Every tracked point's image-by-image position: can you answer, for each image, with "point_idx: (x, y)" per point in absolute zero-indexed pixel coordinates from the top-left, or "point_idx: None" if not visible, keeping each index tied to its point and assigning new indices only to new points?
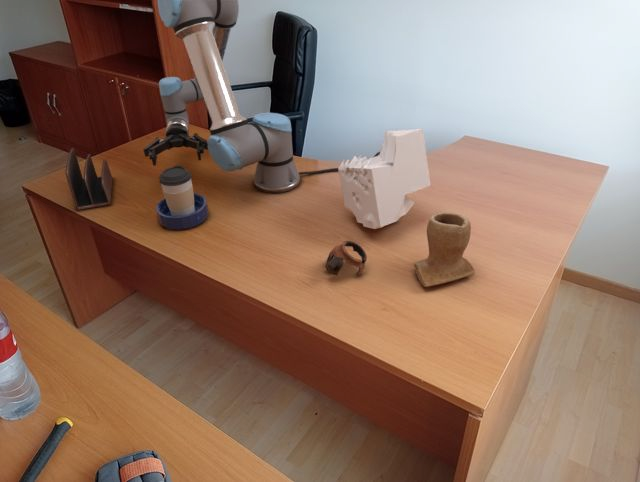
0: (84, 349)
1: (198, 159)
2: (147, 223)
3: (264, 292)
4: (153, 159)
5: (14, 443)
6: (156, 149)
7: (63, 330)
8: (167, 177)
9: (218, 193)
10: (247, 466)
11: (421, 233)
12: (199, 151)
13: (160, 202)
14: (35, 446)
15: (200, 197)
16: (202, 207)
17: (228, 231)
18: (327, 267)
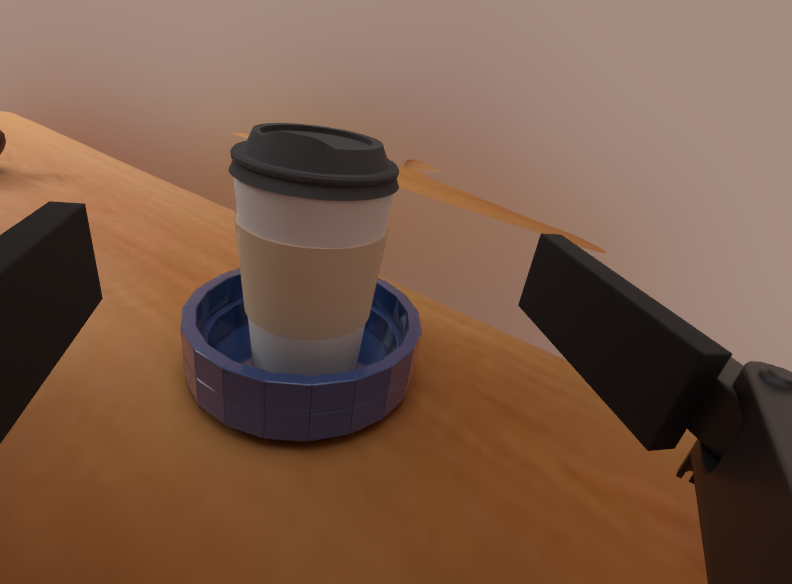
0: (412, 189)
1: (99, 290)
2: (448, 359)
3: (149, 183)
4: (542, 253)
5: (425, 166)
6: (739, 442)
7: (456, 204)
8: (346, 132)
9: (27, 575)
10: (241, 134)
11: None
12: (43, 206)
13: (411, 335)
14: (407, 162)
15: (205, 344)
16: (213, 282)
17: (145, 285)
18: (3, 133)
